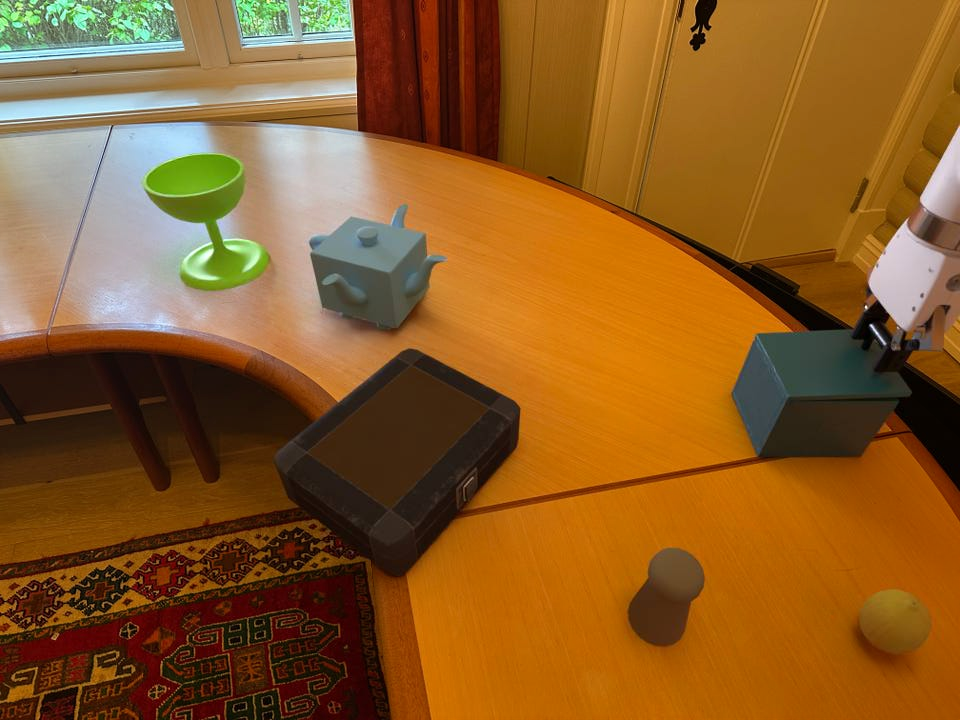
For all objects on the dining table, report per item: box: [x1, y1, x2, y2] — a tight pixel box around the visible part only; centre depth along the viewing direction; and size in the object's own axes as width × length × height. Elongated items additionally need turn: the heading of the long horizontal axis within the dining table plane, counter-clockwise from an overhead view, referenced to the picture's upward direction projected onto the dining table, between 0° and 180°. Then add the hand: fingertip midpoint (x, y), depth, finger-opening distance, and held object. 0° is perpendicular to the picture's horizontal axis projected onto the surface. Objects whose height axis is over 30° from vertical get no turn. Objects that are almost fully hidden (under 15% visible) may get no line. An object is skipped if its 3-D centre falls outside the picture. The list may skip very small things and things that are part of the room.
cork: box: [627, 547, 706, 647], centre depth 61 cm, size 6×6×11 cm
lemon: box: [858, 588, 932, 655], centre depth 60 cm, size 6×6×8 cm
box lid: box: [754, 318, 913, 401], centre depth 74 cm, size 14×12×5 cm
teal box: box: [730, 337, 900, 458], centre depth 80 cm, size 14×12×11 cm
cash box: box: [273, 347, 522, 577], centre depth 76 cm, size 25×20×8 cm
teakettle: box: [308, 203, 448, 330], centre depth 98 cm, size 19×19×15 cm
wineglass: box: [141, 152, 271, 292], centre depth 106 cm, size 16×16×18 cm
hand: (874, 352), depth 75 cm, fingers closed on box lid, 5 cm apart
